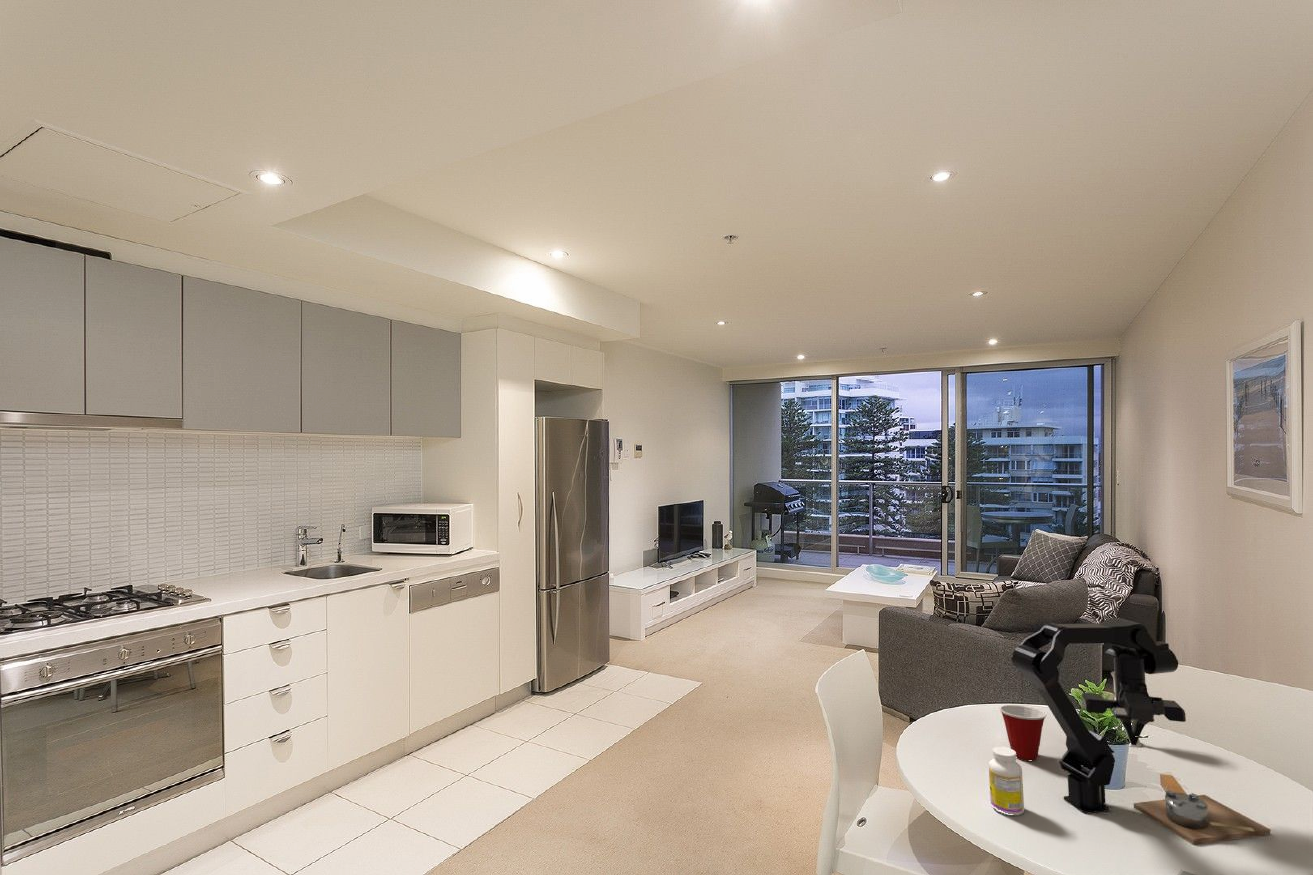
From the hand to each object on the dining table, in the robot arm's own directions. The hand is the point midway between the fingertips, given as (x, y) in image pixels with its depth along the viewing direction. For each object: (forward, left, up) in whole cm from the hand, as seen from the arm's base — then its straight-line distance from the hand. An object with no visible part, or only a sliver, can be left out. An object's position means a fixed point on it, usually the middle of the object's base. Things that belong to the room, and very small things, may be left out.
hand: (1133, 744), depth 150 cm
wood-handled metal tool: (+3, -8, -11) cm, 14 cm away
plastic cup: (-10, +24, -12) cm, 28 cm away
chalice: (+22, +25, -12) cm, 35 cm away
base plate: (+5, -11, -12) cm, 17 cm away
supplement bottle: (-31, +2, -12) cm, 33 cm away
